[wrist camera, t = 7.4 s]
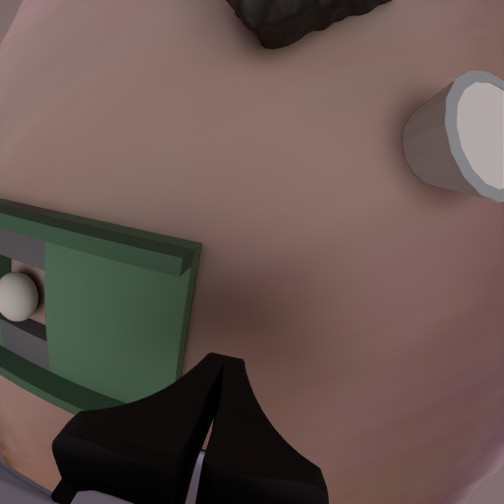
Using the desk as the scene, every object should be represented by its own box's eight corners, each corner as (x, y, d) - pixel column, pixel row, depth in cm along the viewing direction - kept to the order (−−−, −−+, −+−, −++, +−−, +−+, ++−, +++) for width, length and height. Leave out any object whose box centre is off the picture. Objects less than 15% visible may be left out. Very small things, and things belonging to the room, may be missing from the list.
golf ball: (-18, 299, 17) (19, 333, 18) (10, 258, 19) (47, 292, 20) (-10, 299, 20) (23, 329, 21) (15, 264, 22) (47, 294, 23)
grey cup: (475, 199, 18) (539, 206, 12) (394, 194, 19) (449, 198, 12) (470, 107, 17) (529, 86, 10) (389, 92, 18) (436, 56, 11)
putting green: (176, 411, 23) (137, 503, 13) (-2, 337, 23) (-66, 379, 14) (208, 204, 20) (150, 220, 10) (-4, 169, 20) (-91, 172, 10)
